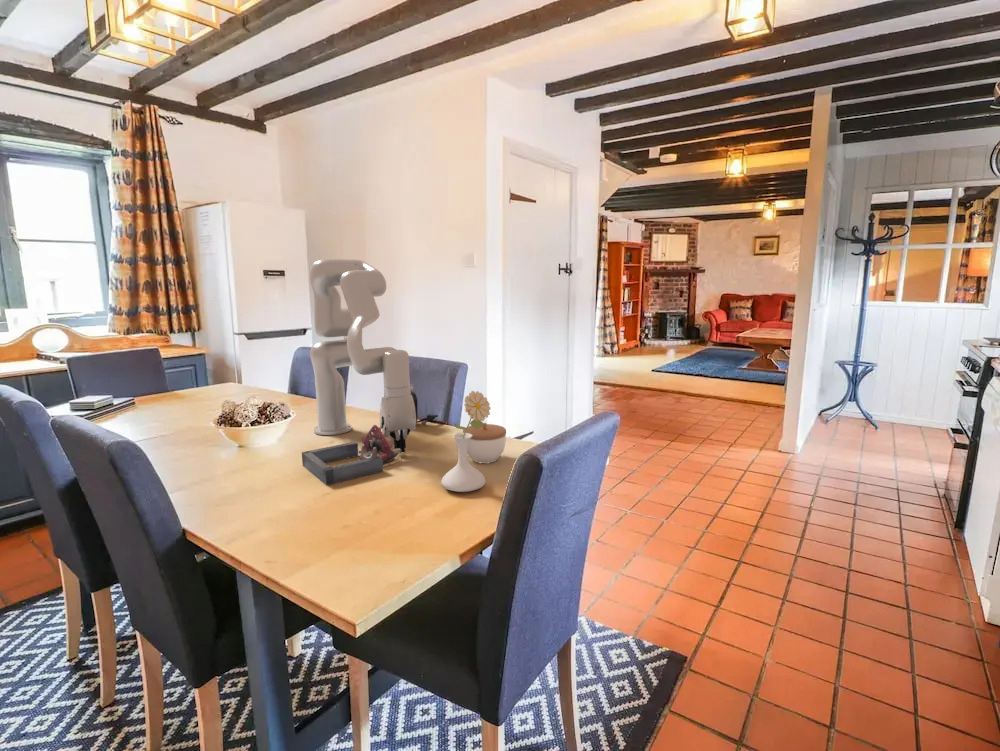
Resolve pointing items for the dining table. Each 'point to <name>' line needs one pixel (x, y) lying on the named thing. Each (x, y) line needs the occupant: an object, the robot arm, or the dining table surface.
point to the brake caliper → (378, 447)
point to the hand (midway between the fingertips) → (400, 451)
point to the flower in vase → (463, 472)
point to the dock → (343, 472)
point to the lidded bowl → (486, 442)
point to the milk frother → (429, 417)
